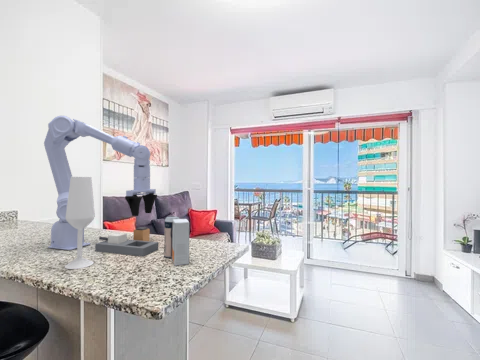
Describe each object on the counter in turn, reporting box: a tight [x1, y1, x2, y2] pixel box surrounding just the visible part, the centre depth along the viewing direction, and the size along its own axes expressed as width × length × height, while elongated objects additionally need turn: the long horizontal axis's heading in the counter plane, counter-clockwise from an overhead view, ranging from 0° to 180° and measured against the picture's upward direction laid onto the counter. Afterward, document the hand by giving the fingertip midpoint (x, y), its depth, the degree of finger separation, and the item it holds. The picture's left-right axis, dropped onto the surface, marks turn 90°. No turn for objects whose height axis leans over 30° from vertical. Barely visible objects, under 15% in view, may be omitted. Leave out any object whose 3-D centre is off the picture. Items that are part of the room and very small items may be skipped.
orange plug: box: [132, 226, 151, 241], centre depth 91 cm, size 4×4×6 cm
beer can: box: [163, 216, 180, 259], centre depth 75 cm, size 5×5×12 cm
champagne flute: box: [64, 176, 96, 270], centre depth 67 cm, size 7×7×24 cm
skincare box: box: [171, 218, 190, 266], centre depth 70 cm, size 6×4×12 cm
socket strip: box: [94, 232, 159, 257], centre depth 81 cm, size 20×8×5 cm, turn 76°
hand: (142, 214), depth 91 cm, fingers open, 7 cm apart
